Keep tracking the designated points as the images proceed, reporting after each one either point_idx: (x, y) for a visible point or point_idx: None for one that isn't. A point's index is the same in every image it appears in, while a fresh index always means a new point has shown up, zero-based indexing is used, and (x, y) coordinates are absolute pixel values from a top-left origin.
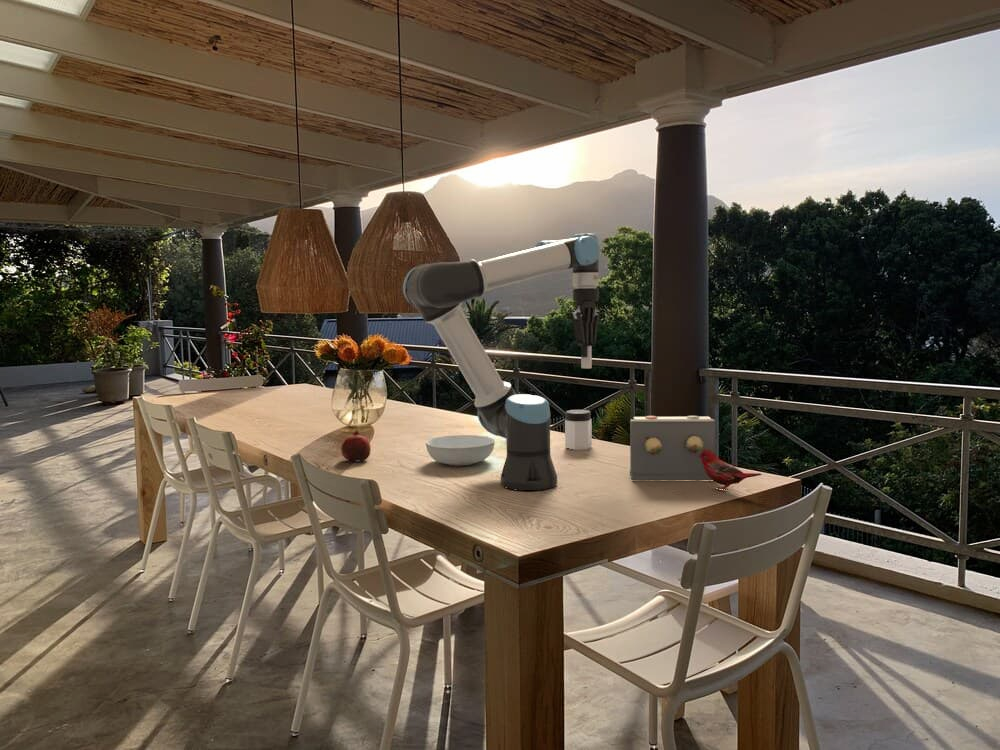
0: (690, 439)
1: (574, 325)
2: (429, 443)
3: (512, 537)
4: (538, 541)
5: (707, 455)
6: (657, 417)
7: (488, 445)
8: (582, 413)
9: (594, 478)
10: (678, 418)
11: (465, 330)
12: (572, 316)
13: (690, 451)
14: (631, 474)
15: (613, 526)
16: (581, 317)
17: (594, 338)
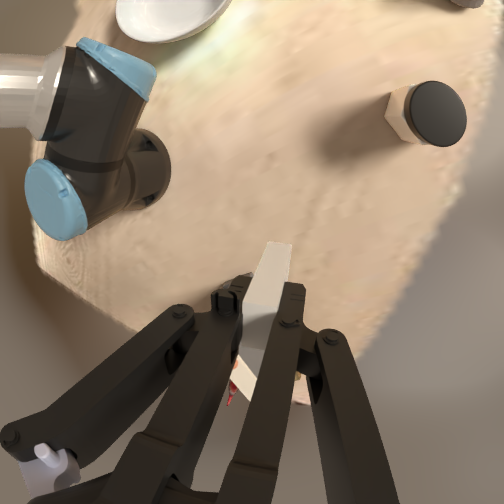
0: None
1: (78, 388)
2: None
3: (46, 248)
4: (53, 266)
5: (230, 383)
6: (237, 367)
7: (168, 40)
8: (420, 133)
9: (209, 233)
10: (245, 389)
11: None
12: (20, 425)
13: None
14: (227, 284)
15: (99, 303)
16: (79, 465)
17: (310, 390)
